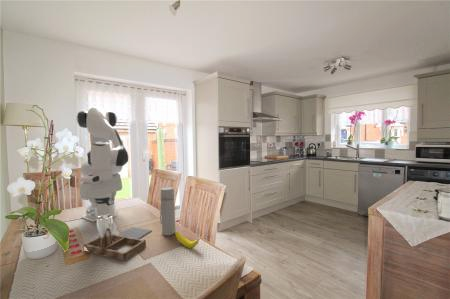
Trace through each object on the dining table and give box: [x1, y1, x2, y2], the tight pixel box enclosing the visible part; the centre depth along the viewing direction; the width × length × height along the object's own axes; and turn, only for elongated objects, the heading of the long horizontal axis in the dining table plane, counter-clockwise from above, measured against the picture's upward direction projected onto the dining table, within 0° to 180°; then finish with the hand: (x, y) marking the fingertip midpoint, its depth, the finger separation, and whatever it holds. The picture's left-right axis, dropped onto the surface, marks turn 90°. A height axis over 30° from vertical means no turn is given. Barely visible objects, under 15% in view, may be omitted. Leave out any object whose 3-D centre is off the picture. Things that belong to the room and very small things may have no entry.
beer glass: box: [96, 214, 114, 248], centre depth 103 cm, size 7×7×15 cm
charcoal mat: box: [117, 226, 152, 239], centre depth 117 cm, size 14×12×1 cm
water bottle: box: [159, 186, 176, 237], centre depth 117 cm, size 9×8×25 cm
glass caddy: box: [83, 233, 147, 262], centre depth 102 cm, size 25×13×3 cm, turn 70°
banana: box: [174, 230, 200, 249], centre depth 102 cm, size 3×19×6 cm, turn 48°
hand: (103, 203), depth 102 cm, fingers open, 8 cm apart
